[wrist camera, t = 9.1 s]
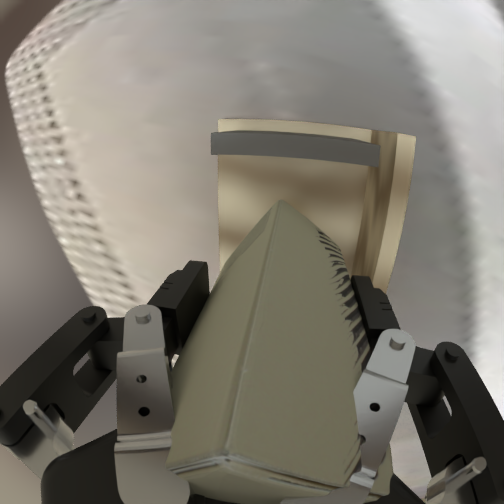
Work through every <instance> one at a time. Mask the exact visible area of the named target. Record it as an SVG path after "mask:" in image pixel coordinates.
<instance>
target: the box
mask: <svg viewBox="0 0 504 504" xmlns="http://www.w3.org/2000/svg"><path fill="white" fill-rule="evenodd" d="M370 358H371V350H370V347H369V343H368V339H367V335H366V332H365V328H364V325H363V322H362V317H361V314H360V310H359V307H358V303H357V300H356V297H355V293H354V290H353V287H352V283H351V280H350V277H349V274H348V271H347V268H346V265H345V262H344V258H343V256H342V253H341V249H340V247H339V246H338V245H337V244H336V243H335V242H334V241H333V240H332V239H330V238H329V237H328V236H327V235H326V234H325V233H324V232H323V231H322V230H320V229H319V228H318V227H317V226H316V225H315V224H314V223H312V222H311V221H310V220H309V219H308V218H306V217H305V216H304V215H303V214H301V213H300V212H299V211H297V210H296V209H295V208H293V207H292V206H291V205H289V204H288V203H287V202H285V201H284V200H278V201H277V202H276V203H275V204H274V205H273V206H272V207H271V208H270V209H269V210H268V211H267V213H266V214H265V215H264V216H263V217H262V218H261V219H260V220H259V222H258V223H257V224H256V225H255V226H254V228H253V229H252V230H251V231H250V232H249V233H248V235H247V236H246V237H245V238H244V239H243V241H242V242H241V243H240V244H239V246H238V247H237V248H236V249H235V251H234V252H233V253H232V254H231V256H230V257H229V258H228V259H227V261H226V262H225V264H224V266H223V268H222V270H221V272H220V275H219V277H218V279H217V281H216V283H215V285H214V287H213V289H212V291H211V293H210V295H209V297H208V299H207V301H206V303H205V305H204V307H203V309H202V311H201V313H200V315H199V316H198V318H197V320H196V322H195V324H194V326H193V329H192V331H191V333H190V335H189V337H188V339H187V341H186V343H185V345H184V347H183V349H182V351H181V353H180V355H179V357H178V359H177V361H176V363H175V365H174V367H173V369H172V371H171V375H172V378H173V388H172V389H171V390H172V396H173V401H174V413H175V422H174V425H173V428H172V431H171V437H172V445H171V449H170V452H169V455H168V457H167V460H166V463H165V468H166V469H168V470H170V471H172V472H174V473H175V474H176V475H177V476H178V477H180V478H181V479H183V480H186V481H188V482H189V484H190V486H191V487H192V489H193V491H194V492H195V494H199V495H203V496H205V497H207V498H211V499H216V500H220V501H225V502H232V503H239V504H280V503H281V502H282V500H283V499H284V498H285V497H310V496H324V495H328V494H329V493H330V492H331V491H332V490H334V489H336V488H339V487H349V485H350V479H351V476H352V475H353V474H354V473H357V472H360V471H361V469H362V462H361V451H360V445H363V444H364V439H363V437H362V436H361V435H359V431H358V422H357V414H356V406H355V400H354V394H353V391H354V389H355V387H356V385H357V383H358V381H359V379H360V377H361V375H362V373H363V371H364V369H367V368H366V366H367V364H368V362H369V360H370ZM392 475H393V467H392V456H391V448H390V443H389V445H388V447H387V450H386V452H385V454H384V457H383V459H382V461H381V463H380V465H379V468H378V470H377V472H376V475H375V479H374V483H373V486H372V488H371V490H370V492H369V494H368V496H367V498H366V500H365V502H364V503H367V502H372V501H376V500H378V499H379V498H380V497H382V496H386V495H388V494H389V492H390V479H391V477H392Z"/></svg>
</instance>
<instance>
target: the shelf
mask: <svg viewBox="0 0 504 504" xmlns="http://www.w3.org/2000/svg"><path fill="white" fill-rule="evenodd" d="M415 142H416V137H415V136H410V135H406V134H401V133H395V132H386V131H376V130H368V129H362V128H355V127H348V126H340V125H332V124H322V123H312V122H300V121H285V120H264V119H218V132H215V133H211V155H218V215H219V257H220V272H221V270H222V268H223V266H224V264H225V262H226V261H227V259H228V258H229V257H230V256H231V254H232V253H233V252H234V251H235V249H236V248H237V247H238V246H239V244H240V243H241V242H242V241H243V239H244V238H245V237H246V236H247V235H248V233H249V232H250V231H251V230H252V229H253V228H254V226H255V225H256V224H257V223H258V222H259V220H260V219H261V218H262V217H263V216H264V215H265V214H266V213H267V211H268V210H269V209H270V208H271V207H272V206H273V205H274V204H275V203H276V202H277V201H278V200H284V201H285V202H287V203H288V204H289V205H291V206H292V207H293V208H295V209H296V210H297V211H299V212H300V213H301V214H303V215H304V216H305V217H306V218H308V219H309V220H310V221H311V222H312V223H314V224H315V225H316V226H317V227H318V228H319V229H320V230H322V231H323V232H324V233H325V234H326V235H327V236H328V237H329V238H330V239H332V240H333V241H334V242H335V243H336V244H337V245H338V246H339V247H340V249H341V253H342V256H343V258H344V262H345V265H346V268H347V271H348V274H349V277H350V280H351V277H352V275H359V276H369V277H370V279H371V282H372V284H373V287H374V288H380V289H381V290H382V291H383V292H384V293H385V294H386V291H387V288H388V284H389V281H390V277H391V273H392V270H393V266H394V262H395V258H396V254H397V250H398V246H399V241H400V237H401V232H402V228H403V223H404V218H405V213H406V207H407V202H408V196H409V190H410V183H411V176H412V169H413V161H414V152H415Z"/></svg>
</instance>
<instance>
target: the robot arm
mask: <svg viewBox="0 0 504 504" xmlns="http://www.w3.org/2000/svg"><path fill="white" fill-rule="evenodd" d="M351 283H352V287H353V290H354V293H355V297H356V300H357V303H358V307H359V310H360V314H361V317H362V322H363V325H364V328H365V332H366V335H367V339H368V343H369V347H370V350H371V358H370V360H369V362H368V364H367V366H366V368H367V369H364V371H363V373H362V375H361V377H360V379H359V381H358V383H357V385H356V387H355V389H354V391H353V394H354V400H355V406H356V414H357V422H358V431H359V435H361V436H362V437H363V439H364V444H363V445H360V451H361V462H362V469H361V471H360V472H357V473H354V474H353V475H352V476H351V479H350V485H349V487H339V488H336V489H334V490H332V491H331V492H330V493H329V494H328V495H324V496H310V497H285V498H284V499H283V500H282V502H281V503H280V504H425V503H424V502H423V501H422V500H421V499H420V498H419V497H418V496H417V495H416V494H415V493H414V492H413V491H412V490H411V489H410V488H409V487H407V486H406V485H405V484H404V483H403V482H402V481H401V480H400V479H399V478H398V477H397V476H396V475H395V474H394V473H393V475H392V477H391V479H390V492H389V494H388V495H386V496H382V497H380V498H379V499H378V500H376V501H372V502H367V503H364V502H365V500H366V498H367V496H368V494H369V492H370V490H371V488H372V486H373V483H374V479H375V475H376V472H377V470H378V468H379V465H380V463H381V461H382V459H383V457H384V454H385V452H386V450H387V447H388V445H389V442H390V440H391V437H392V435H393V432H394V429H395V427H396V424H397V421H398V418H399V416H400V413H401V410H402V407H403V404H404V402H407V404H408V407H409V410H410V412H411V415H412V418H413V421H414V423H415V426H416V429H417V432H418V435H419V438H420V441H421V444H422V447H423V450H424V453H425V457H426V460H427V463H428V466H429V470H430V473H431V477H432V479H431V480H430V482H429V484H428V486H427V493H426V495H425V501H426V504H504V420H503V418H502V416H501V414H500V412H499V410H498V408H497V406H496V405H495V403H494V401H493V399H492V397H491V395H490V393H489V392H488V390H487V388H486V386H485V384H484V383H483V381H482V379H481V378H480V376H479V374H478V372H477V371H476V369H475V368H474V366H473V364H472V363H471V361H470V359H469V358H468V356H467V355H466V353H465V352H464V350H463V349H462V348H461V347H460V346H458V345H457V344H455V343H452V342H441V343H439V344H438V345H437V347H436V348H435V350H434V351H432V350H428V349H423V348H420V347H417V346H416V344H415V341H414V339H413V338H412V336H410V335H409V334H408V333H406V332H405V331H402V330H401V329H400V327H399V324H398V322H397V319H396V317H395V314H394V312H393V311H392V307H391V304H390V302H389V299H388V297H387V295H386V294H385V293H384V292H383V291H382V290H381V289H380V288H374V287H373V284H372V282H371V279H370V277H369V276H359V275H352V277H351ZM209 294H210V292H209V276H208V265H207V262H202V261H192V260H190V261H189V262H188V263H187V265H186V266H185V267H184V269H183V270H177V271H175V272H174V273H172V274H170V275H169V276H168V277H167V279H166V280H165V281H164V283H163V284H162V285H161V286H160V289H158V290H157V292H156V293H155V294H154V295H153V297H152V298H151V299H150V301H149V302H148V303H147V305H139V306H136V307H134V308H132V309H130V310H129V311H128V312H127V313H126V315H125V317H121V318H107V315H106V312H105V310H104V309H103V308H101V307H98V306H90V307H87V308H84V309H82V310H80V311H79V312H78V313H76V314H75V315H74V316H73V317H72V318H71V319H70V320H68V322H66V323H65V324H64V325H63V326H62V327H61V328H60V329H58V330H57V332H55V333H54V334H53V335H52V336H51V337H50V338H49V339H48V340H47V341H45V342H44V343H43V344H42V345H41V346H40V347H39V348H38V349H37V350H36V351H35V352H34V353H33V354H32V355H31V356H30V357H29V358H28V359H27V360H26V361H25V362H24V363H23V364H22V365H21V366H20V367H19V368H18V369H17V370H16V371H15V372H14V373H13V374H12V375H11V376H10V377H9V378H8V379H7V380H6V381H5V382H4V383H3V384H2V385H1V386H0V444H1V445H2V446H3V447H5V448H6V449H7V450H8V451H9V452H10V453H11V454H12V455H14V456H15V457H16V458H17V459H19V460H21V461H22V462H23V463H24V464H25V465H26V466H27V467H28V468H29V469H30V470H31V471H32V472H33V473H34V474H36V475H37V476H38V477H39V478H40V479H41V498H42V504H239V503H232V502H225V501H220V500H216V499H211V498H207V497H205V496H203V495H199V494H195V492H194V491H193V489H192V487H191V486H190V484H189V482H188V481H186V480H183V479H181V478H180V477H178V476H177V475H176V474H175V473H174V472H172V471H170V470H168V469H166V468H165V463H166V460H167V457H168V455H169V452H170V449H171V445H172V437H171V431H172V428H173V425H174V422H175V413H174V401H173V396H172V390H171V389H172V388H173V378H172V375H171V371H172V369H173V364H172V358H173V356H174V354H177V355H180V353H181V351H182V349H183V347H184V345H185V343H186V341H187V339H188V337H189V335H190V333H191V331H192V329H193V326H194V324H195V322H196V320H197V318H198V316H199V315H200V313H201V311H202V309H203V307H204V305H205V303H206V301H207V299H208V297H209ZM86 353H88V356H89V358H90V359H89V360H88V361H87V362H86V363H85V364H84V366H82V368H81V369H80V370H79V371H78V372H77V373H76V374H75V375H73V369H74V366H75V365H76V363H77V362H78V361H79V360H80V359H81V358H82V357H83V356H84V355H85V354H86ZM115 379H116V409H117V410H116V411H117V429H115V430H114V431H112V432H110V433H108V434H105V435H103V436H102V437H99V438H97V439H96V440H93V441H91V442H89V443H87V444H85V445H83V446H80V447H78V448H76V449H74V445H73V442H74V432H75V431H76V430H77V428H78V427H79V426H80V425H81V423H82V422H83V421H84V419H85V418H86V417H87V415H88V414H89V413H90V411H91V410H92V409H93V408H94V406H95V405H96V404H97V402H98V401H99V400H100V398H101V397H102V396H103V395H104V394H105V392H106V391H107V390H108V388H109V387H110V386H111V385H112V383H113V382H114V381H115ZM444 395H445V396H446V398H447V400H448V402H449V405H450V407H451V410H452V416H451V415H450V413H449V411H448V409H447V406H446V404H445V402H444V400H443V397H444Z"/></svg>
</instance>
